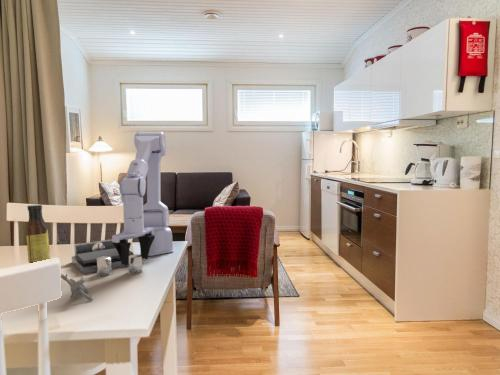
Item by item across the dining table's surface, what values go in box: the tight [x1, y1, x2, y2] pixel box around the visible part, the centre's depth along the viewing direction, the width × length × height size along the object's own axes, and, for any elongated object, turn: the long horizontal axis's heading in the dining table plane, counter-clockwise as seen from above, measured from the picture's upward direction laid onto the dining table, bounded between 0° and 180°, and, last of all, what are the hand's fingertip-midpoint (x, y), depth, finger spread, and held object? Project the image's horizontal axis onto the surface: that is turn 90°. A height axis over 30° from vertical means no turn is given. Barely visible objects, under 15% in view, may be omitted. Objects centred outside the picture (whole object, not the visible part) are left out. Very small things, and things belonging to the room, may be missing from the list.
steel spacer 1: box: [96, 256, 113, 277], centre depth 107 cm, size 4×4×5 cm
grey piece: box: [60, 273, 94, 302], centre depth 89 cm, size 10×6×9 cm
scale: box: [71, 238, 128, 275], centre depth 118 cm, size 16×16×6 cm
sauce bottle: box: [25, 203, 51, 264], centre depth 117 cm, size 7×6×20 cm
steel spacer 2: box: [127, 253, 143, 275], centre depth 109 cm, size 4×4×5 cm
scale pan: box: [77, 248, 134, 264], centre depth 116 cm, size 15×10×1 cm, turn 128°
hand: (135, 261), depth 109 cm, fingers open, 7 cm apart
